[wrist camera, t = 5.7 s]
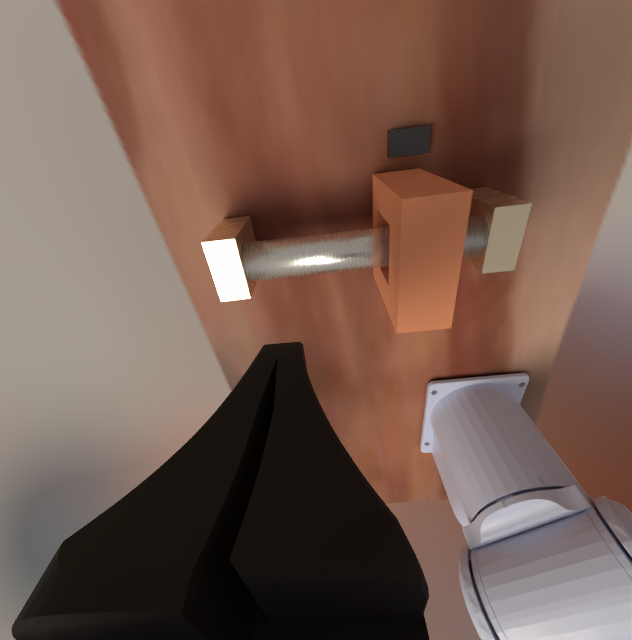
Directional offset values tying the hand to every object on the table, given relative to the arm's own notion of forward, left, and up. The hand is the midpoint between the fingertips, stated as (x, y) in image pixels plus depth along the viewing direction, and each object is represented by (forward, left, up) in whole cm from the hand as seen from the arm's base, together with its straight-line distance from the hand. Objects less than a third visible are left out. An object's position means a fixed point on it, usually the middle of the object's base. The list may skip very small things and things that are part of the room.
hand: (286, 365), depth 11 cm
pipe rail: (+1, -4, -10) cm, 11 cm away
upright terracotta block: (+1, -6, -10) cm, 12 cm away
